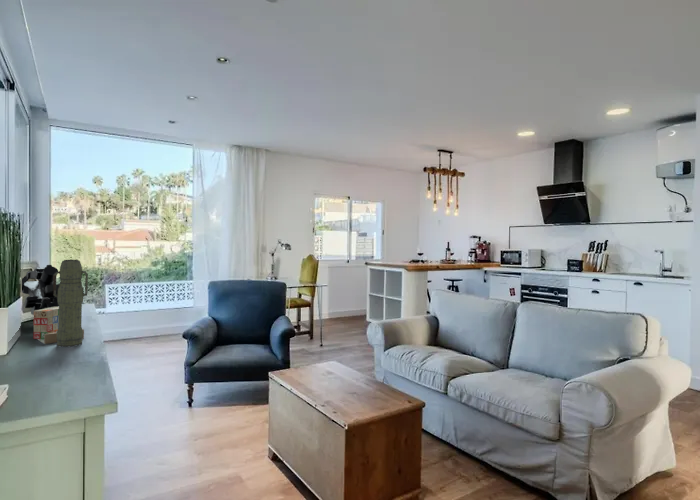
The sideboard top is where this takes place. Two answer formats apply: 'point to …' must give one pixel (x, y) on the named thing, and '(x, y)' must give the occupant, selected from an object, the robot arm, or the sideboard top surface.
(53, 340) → the dock pad
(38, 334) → the stack of blocks
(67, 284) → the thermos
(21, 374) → the sideboard top surface
